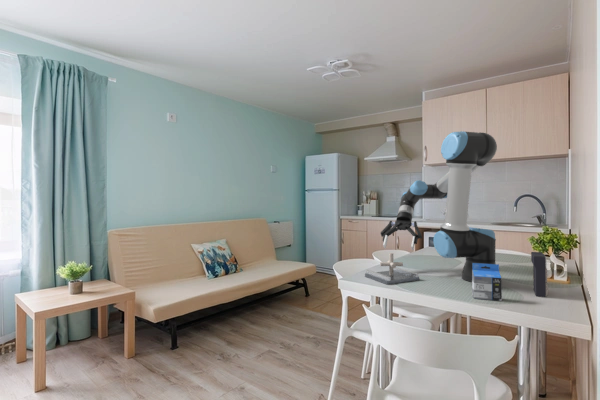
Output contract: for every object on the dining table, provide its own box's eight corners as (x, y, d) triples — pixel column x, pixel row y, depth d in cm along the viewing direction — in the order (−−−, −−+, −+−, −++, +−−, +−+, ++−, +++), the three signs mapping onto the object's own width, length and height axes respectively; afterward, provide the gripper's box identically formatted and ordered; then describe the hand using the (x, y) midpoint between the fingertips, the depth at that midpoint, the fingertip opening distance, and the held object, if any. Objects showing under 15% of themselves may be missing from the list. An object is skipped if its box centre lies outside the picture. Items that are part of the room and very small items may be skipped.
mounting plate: (419, 280, 145) (419, 273, 145) (386, 284, 138) (386, 277, 138) (395, 272, 160) (395, 266, 160) (364, 276, 153) (364, 270, 153)
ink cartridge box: (473, 298, 117) (473, 264, 118) (472, 295, 121) (471, 262, 121) (502, 301, 114) (501, 266, 114) (499, 298, 118) (499, 264, 118)
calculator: (548, 297, 118) (548, 256, 118) (533, 296, 120) (533, 255, 120) (545, 290, 127) (544, 252, 127) (531, 289, 129) (531, 251, 130)
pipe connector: (400, 272, 154) (399, 251, 154) (405, 277, 144) (405, 255, 144) (378, 272, 155) (378, 251, 155) (382, 277, 145) (382, 255, 145)
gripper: (430, 220, 168) (425, 254, 155) (383, 219, 181) (374, 250, 168) (428, 210, 163) (423, 244, 151) (380, 210, 176) (371, 241, 163)
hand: (398, 247), depth 159 cm, fingers open, 13 cm apart
